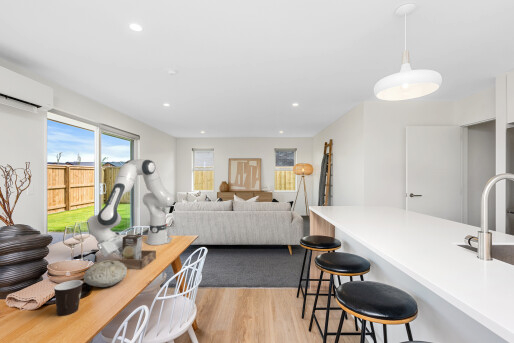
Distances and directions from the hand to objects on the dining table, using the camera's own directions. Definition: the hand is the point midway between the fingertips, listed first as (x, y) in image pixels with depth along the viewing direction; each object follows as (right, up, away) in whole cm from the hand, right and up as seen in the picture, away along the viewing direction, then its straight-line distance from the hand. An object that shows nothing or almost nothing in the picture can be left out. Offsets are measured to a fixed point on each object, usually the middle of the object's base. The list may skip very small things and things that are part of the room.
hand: (123, 255), depth 146 cm
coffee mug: (+8, -3, -54) cm, 55 cm away
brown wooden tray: (+6, -6, 0) cm, 8 cm away
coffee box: (+5, -5, 0) cm, 7 cm away
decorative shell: (+7, -4, -28) cm, 29 cm away
